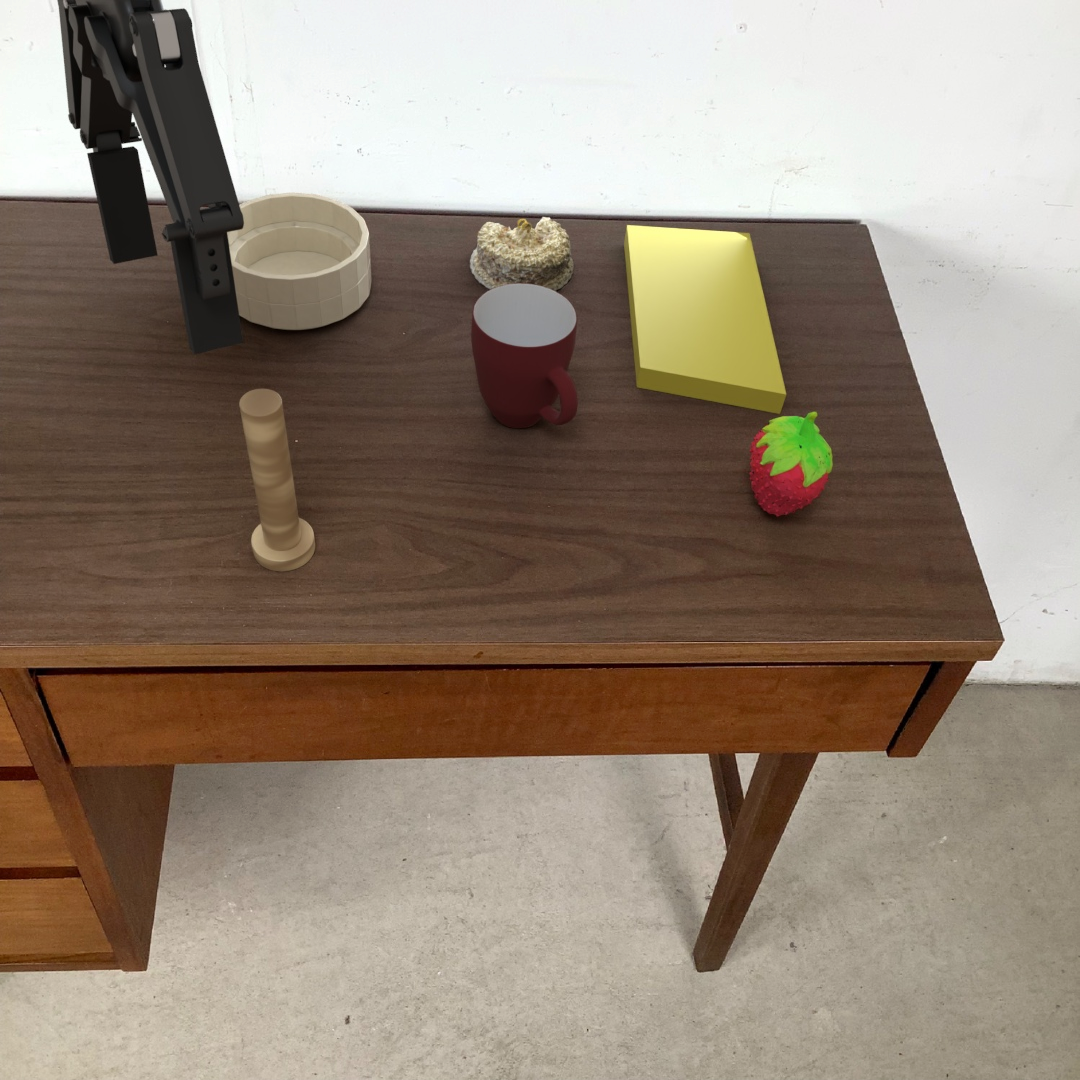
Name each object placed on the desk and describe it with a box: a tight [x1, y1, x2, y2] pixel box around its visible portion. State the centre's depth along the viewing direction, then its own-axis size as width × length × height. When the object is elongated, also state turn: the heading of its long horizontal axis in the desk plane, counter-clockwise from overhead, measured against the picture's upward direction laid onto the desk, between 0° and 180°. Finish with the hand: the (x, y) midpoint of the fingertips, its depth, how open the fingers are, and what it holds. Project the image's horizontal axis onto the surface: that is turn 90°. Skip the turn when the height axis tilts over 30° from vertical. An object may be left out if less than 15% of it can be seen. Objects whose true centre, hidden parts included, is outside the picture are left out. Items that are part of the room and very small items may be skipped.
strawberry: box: [749, 411, 834, 517], centre depth 80 cm, size 6×7×10 cm
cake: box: [469, 216, 575, 292], centre depth 100 cm, size 10×10×5 cm
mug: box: [470, 283, 579, 429], centre depth 84 cm, size 11×8×10 cm
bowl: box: [227, 192, 373, 331], centre depth 95 cm, size 13×13×6 cm
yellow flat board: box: [623, 224, 787, 415], centre depth 97 cm, size 12×2×24 cm
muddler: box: [238, 388, 316, 572], centre depth 72 cm, size 4×4×14 cm
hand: (172, 299), depth 62 cm, fingers open, 13 cm apart
